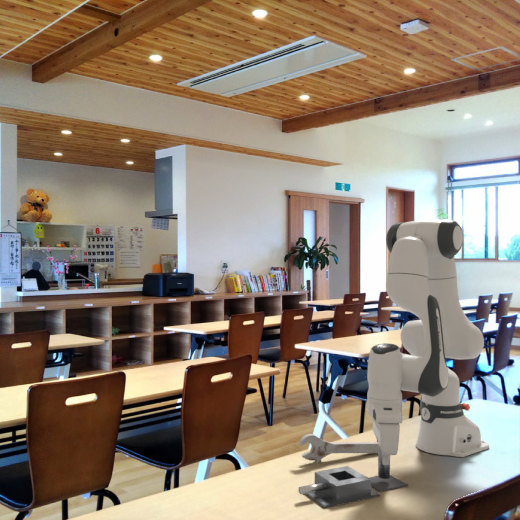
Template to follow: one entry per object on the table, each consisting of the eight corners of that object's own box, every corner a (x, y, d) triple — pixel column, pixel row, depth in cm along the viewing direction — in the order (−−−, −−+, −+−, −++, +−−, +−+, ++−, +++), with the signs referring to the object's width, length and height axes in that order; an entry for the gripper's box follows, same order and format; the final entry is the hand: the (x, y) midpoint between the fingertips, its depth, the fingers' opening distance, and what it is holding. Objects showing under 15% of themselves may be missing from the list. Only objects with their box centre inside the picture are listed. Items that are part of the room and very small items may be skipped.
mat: (388, 475, 155) (388, 473, 155) (408, 485, 148) (408, 484, 148) (360, 480, 151) (360, 479, 151) (379, 492, 144) (379, 490, 144)
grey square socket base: (351, 479, 152) (351, 463, 152) (379, 496, 142) (380, 479, 142) (288, 491, 144) (288, 475, 144) (313, 510, 133) (313, 492, 133)
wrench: (387, 462, 173) (299, 464, 162) (384, 460, 175) (296, 462, 163) (390, 435, 174) (302, 435, 162) (386, 433, 176) (299, 433, 164)
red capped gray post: (375, 473, 152) (375, 435, 152) (390, 474, 151) (390, 436, 151) (377, 479, 148) (377, 440, 148) (392, 479, 148) (392, 440, 148)
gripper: (367, 397, 160) (367, 447, 160) (377, 417, 140) (376, 475, 140) (390, 398, 160) (390, 448, 160) (403, 418, 139) (403, 475, 139)
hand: (384, 460), depth 150 cm, fingers closed on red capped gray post, 3 cm apart
